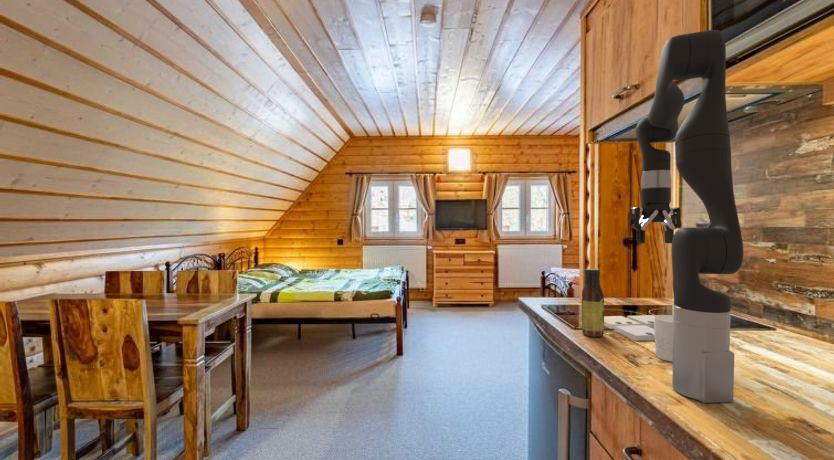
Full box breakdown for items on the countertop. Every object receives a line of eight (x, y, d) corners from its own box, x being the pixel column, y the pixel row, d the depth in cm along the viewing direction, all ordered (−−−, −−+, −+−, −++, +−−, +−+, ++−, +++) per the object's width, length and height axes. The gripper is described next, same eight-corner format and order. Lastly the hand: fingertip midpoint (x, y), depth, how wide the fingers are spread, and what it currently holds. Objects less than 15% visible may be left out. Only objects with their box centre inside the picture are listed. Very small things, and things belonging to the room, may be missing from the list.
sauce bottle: (608, 338, 115) (608, 270, 114) (586, 338, 115) (587, 270, 115) (598, 331, 122) (598, 267, 121) (577, 331, 122) (578, 267, 121)
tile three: (675, 327, 127) (675, 322, 126) (646, 328, 126) (646, 322, 126) (654, 319, 136) (654, 314, 136) (626, 320, 136) (627, 315, 135)
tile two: (640, 328, 125) (640, 322, 125) (610, 329, 124) (611, 323, 124) (621, 320, 135) (621, 315, 135) (593, 320, 134) (593, 316, 134)
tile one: (667, 339, 113) (668, 333, 113) (635, 340, 113) (635, 334, 112) (644, 330, 123) (644, 324, 123) (614, 330, 122) (614, 325, 122)
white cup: (690, 356, 100) (691, 317, 99) (690, 366, 93) (691, 324, 93) (654, 350, 104) (654, 313, 104) (652, 359, 98) (652, 319, 97)
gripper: (641, 185, 109) (640, 244, 109) (688, 186, 110) (687, 243, 111) (624, 188, 116) (623, 242, 117) (668, 188, 118) (668, 242, 118)
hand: (655, 243), depth 114 cm, fingers open, 8 cm apart
